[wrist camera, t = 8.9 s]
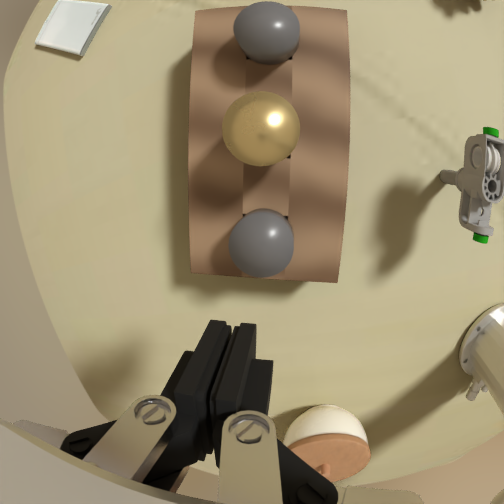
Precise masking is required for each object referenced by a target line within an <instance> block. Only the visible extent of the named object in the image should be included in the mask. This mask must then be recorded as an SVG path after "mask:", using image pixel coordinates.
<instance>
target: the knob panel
mask: <svg viewBox="0 0 504 504" xmlns="http://www.w3.org/2000/svg"><path fill="white" fill-rule="evenodd" d="M246 7H248V6H240V7H226V8H215V9H206V10H198V11H195V22H194V33H193V46H192V61H191V79H190V102H189V140H188V199H189V239H190V263H191V273H200V274H212V275H225V276H238V277H251V278H259V277H254V276H250V275H248V274H246V273H244V272H243V271H241V270H240V269H239V268H238V267H237V266H236V265H235V264H234V262H233V260H232V258H231V256H230V253H229V246H228V244H229V237H230V234H231V232H232V230H233V229H234V227H235V226H236V225H237V223H238V222H239V221H240V220H241V219H242V218H243V216H245V215H246V214H247V213H249V212H250V211H253V210H255V209H260V208H267V209H272V210H275V211H277V212H279V213H281V214H282V215H283V216H285V217H286V218H287V220H288V221H289V223H290V224H291V226H292V229H293V234H294V251H293V256H292V259H291V261H290V263H289V264H288V265H287V267H286V268H285V269H284V270H283V271H281V272H280V273H278V274H276V275H274V276H271V277H265V279H280V280H296V281H312V282H329V283H337V282H338V275H339V267H340V259H341V250H342V241H343V231H344V221H345V210H346V197H347V183H348V166H349V143H350V58H349V36H348V21H347V10H340V9H331V8H320V7H306V6H287V7H288V8H290V9H291V10H292V11H293V12H294V13H295V14H296V16H297V18H298V20H299V23H300V36H299V46H298V49H297V50H296V52H295V53H294V55H293V56H292V57H291V58H289V60H286V61H284V62H281V63H278V64H272V65H266V64H260V63H257V62H255V61H253V60H251V59H249V58H248V57H247V56H246V55H245V54H244V53H243V51H242V49H241V47H240V45H239V43H238V41H237V40H236V38H235V35H234V31H233V26H234V21H235V19H236V17H237V16H238V14H239V13H240V12H241V11H242V10H243V9H244V8H246ZM257 91H265V92H271V93H274V94H277V95H279V96H281V97H283V98H284V99H286V100H287V101H288V102H289V103H290V104H291V105H292V106H293V108H294V109H295V111H296V113H297V115H298V118H299V122H300V135H299V139H298V142H297V145H296V147H295V149H294V150H293V152H292V153H291V154H290V155H289V156H288V157H287V158H286V159H284V160H282V161H281V162H278V163H276V164H273V165H269V166H253V165H249V164H246V163H244V162H242V161H240V160H239V159H237V158H236V157H235V156H234V155H232V153H231V152H230V151H229V150H228V148H227V146H226V144H225V142H224V139H223V135H222V123H223V118H224V116H225V113H226V111H227V110H228V108H229V107H230V105H231V104H232V103H233V102H234V101H236V100H237V99H238V98H240V97H241V96H243V95H245V94H248V93H251V92H257Z"/></svg>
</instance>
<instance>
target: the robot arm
mask: <svg viewBox="0 0 504 504" xmlns="http://www.w3.org/2000/svg"><path fill="white" fill-rule="evenodd" d="M255 358H256V324H249V323H241V324H240V326H235V327H234V330H233V333H232V329H231V326H230V325H227V324H226V321H218V320H210V322H209V324H208V326H207V328H206V329H205V331H204V333H203V335H202V337H201V339H200V341H199V343H198V345H197V347H196V349H195V351H194V352H193V351H185V352H184V353H183V355H182V357H181V359H180V360H179V362H178V364H177V366H176V368H175V370H174V371H173V373H172V375H171V377H170V379H169V380H168V382H167V384H166V386H165V388H164V390H163V391H162V393H161V395H148V396H143V397H141V398H139V399H137V400H136V401H135V402H133V403H132V404H131V406H130V407H129V408H128V409H127V410H126V411H125V412H124V413H123V415H122V416H121V417H120V418H119V419H118V420H115V421H112V422H108V423H105V424H102V425H98V426H94V427H91V428H87V429H83V430H79V431H76V432H73V433H71V434H68V432H67V431H66V430H61V429H57V428H53V427H49V426H45V425H41V424H37V423H33V422H30V421H25V420H20V421H16V422H15V423H13V424H12V423H10V422H8V421H6V420H4V419H1V418H0V504H424V503H423V500H422V499H421V497H420V496H419V495H418V494H416V493H414V492H411V491H401V490H384V489H374V488H364V487H356V486H347V488H343V487H337V486H334V485H333V484H332V483H331V482H330V481H329V480H328V479H326V478H325V477H324V476H322V475H321V474H320V473H318V472H317V471H316V470H315V469H313V468H312V467H311V466H310V465H308V464H307V463H306V462H305V461H303V460H302V459H301V458H300V457H298V456H297V455H296V454H295V453H294V452H292V451H291V450H290V449H289V448H288V447H286V446H285V445H284V444H283V443H282V442H281V441H279V440H278V439H277V437H276V428H275V425H274V422H273V421H272V420H271V418H270V417H268V409H269V401H270V394H271V385H272V374H273V360H261V359H255ZM459 362H460V365H461V367H462V368H463V370H464V371H465V372H466V373H467V374H469V375H472V376H473V379H472V383H473V384H472V386H471V387H470V388H469V390H468V392H467V394H466V398H467V399H468V400H470V401H473V400H475V398H476V396H477V394H478V393H479V390H480V388H481V390H482V391H483V392H487V391H488V390H489V392H490V394H491V395H492V397H493V398H494V400H495V402H496V403H497V405H498V407H499V408H500V410H501V412H502V414H503V415H504V303H503V304H498V305H496V306H494V307H492V308H490V309H489V310H487V311H486V312H484V313H483V314H482V315H481V316H480V317H479V318H478V319H477V320H476V321H475V322H474V323H473V325H472V326H471V327H470V329H469V330H468V332H467V334H466V335H465V337H464V339H463V342H462V344H461V348H460V352H459ZM213 449H214V452H215V459H216V466H217V467H218V468H219V469H220V470H219V484H218V500H217V502H213V501H208V500H203V499H198V498H193V497H189V496H185V495H180V494H176V491H177V490H178V488H179V486H180V485H181V483H182V481H183V480H184V478H185V476H186V474H187V473H188V470H189V465H191V464H194V463H196V462H197V461H198V460H200V461H204V460H205V457H206V454H212V452H213ZM490 504H504V489H503V490H502V491H501V492H499V493H498V494H497V495H496V497H494V499H493V500H492V501H491V503H490Z"/></svg>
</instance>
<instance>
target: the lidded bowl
mask: <svg viewBox="0 0 504 504" xmlns="http://www.w3.org/2000/svg"><path fill="white" fill-rule="evenodd" d="M283 444H284V445H285V446H286V447H288V448H289V449H290V450H291V451H292V452H294V453H295V454H296V455H297V456H298V457H300V458H301V459H302V460H303V461H305V462H306V463H307V464H308V465H310V466H311V467H312V468H313V469H315V470H316V471H317V472H318V473H320V474H321V475H322V476H324V477H325V478H326V479H328V480H329V481H330V482H334V481H339V480H342V479H345V478H348V477H350V476H352V475H354V474H356V473H358V472H359V471H361V470H362V469H363V468H364V467H365V466H366V465H367V464H368V462H369V460H370V457H371V452H370V448H369V445H368V441H367V437H366V434H365V431H364V428H363V426H362V424H361V423H360V421H359V420H358V419H357V418H356V417H355V416H354V415H353V414H352V413H350V412H349V411H347V410H344V409H342V408H340V407H338V406H335V405H330V404H324V405H318V406H314V407H312V408H310V409H308V410H307V411H305V412H304V413H303V414H301V415H300V416H299V417H297V418H296V419H295V420H294V421H293V422H292V424H291V425H290V427H289V428H288V430H287V432H286V435H285V437H284V441H283Z"/></svg>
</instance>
